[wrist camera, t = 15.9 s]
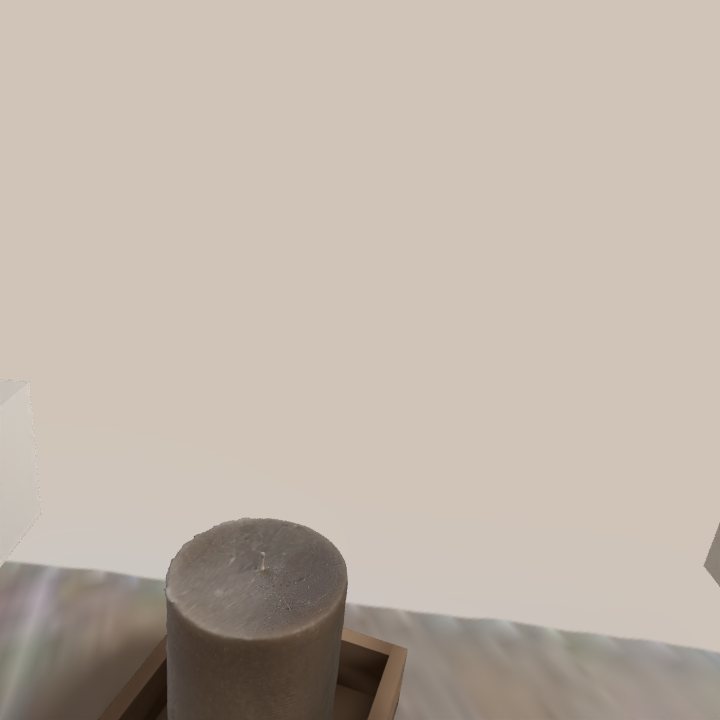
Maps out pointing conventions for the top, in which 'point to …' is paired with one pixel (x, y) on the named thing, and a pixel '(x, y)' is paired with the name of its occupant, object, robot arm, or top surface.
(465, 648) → the top surface
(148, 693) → the walnut crate
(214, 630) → the pillar candle
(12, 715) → the top surface
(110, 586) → the top surface
